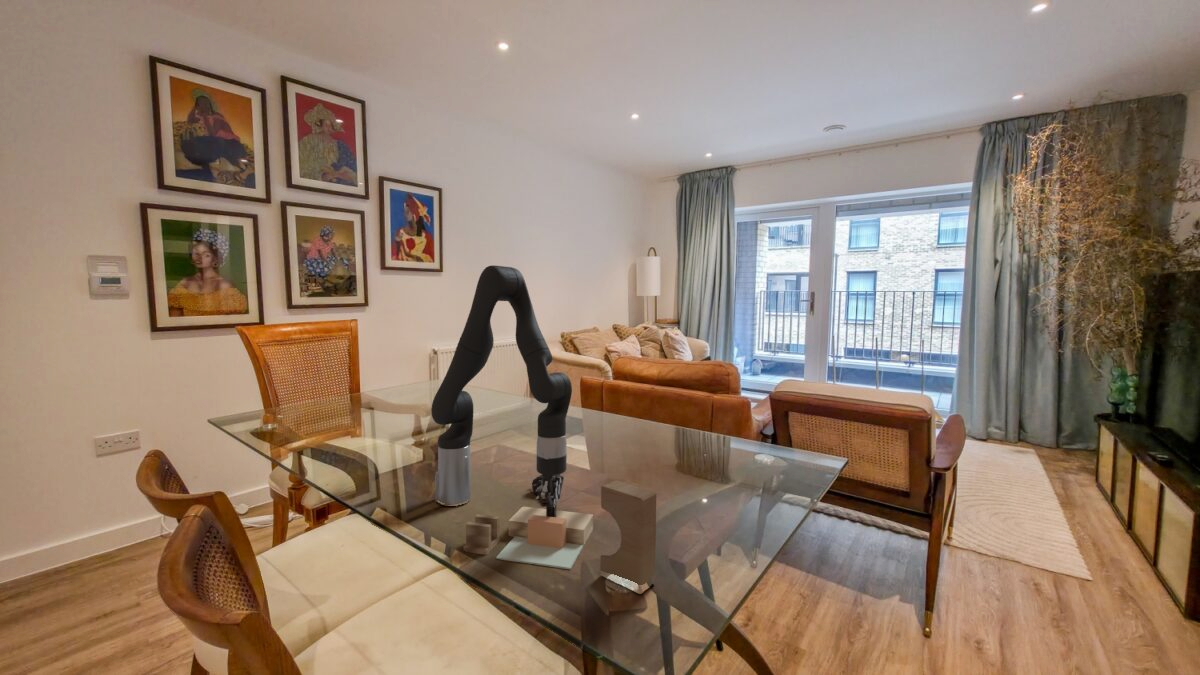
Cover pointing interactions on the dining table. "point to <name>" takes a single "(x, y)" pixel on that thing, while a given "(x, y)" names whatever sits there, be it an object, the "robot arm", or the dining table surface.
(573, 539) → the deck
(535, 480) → the figurine
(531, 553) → the mat
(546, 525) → the tile
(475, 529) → the slotted rack
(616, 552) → the decorative block
